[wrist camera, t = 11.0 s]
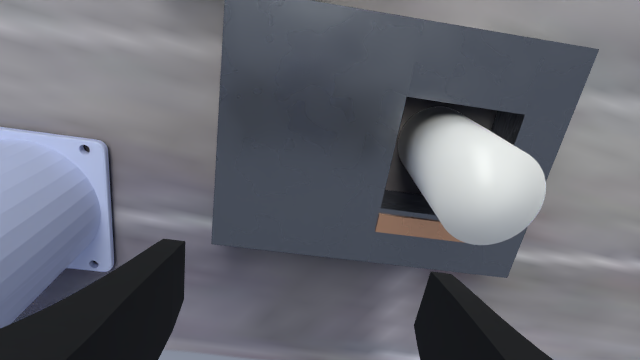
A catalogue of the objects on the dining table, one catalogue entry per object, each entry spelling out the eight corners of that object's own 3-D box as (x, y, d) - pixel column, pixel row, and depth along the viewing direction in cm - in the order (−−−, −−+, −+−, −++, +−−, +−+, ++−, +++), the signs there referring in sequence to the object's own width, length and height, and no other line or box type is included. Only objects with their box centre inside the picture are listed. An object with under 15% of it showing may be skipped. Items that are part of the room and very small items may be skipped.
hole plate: (221, 220, 22) (211, 245, 20) (236, -10, 18) (225, -15, 15) (487, 252, 23) (507, 278, 21) (563, 46, 19) (600, 49, 16)
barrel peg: (392, 175, 21) (428, 242, 15) (403, 103, 20) (448, 142, 13) (463, 180, 21) (528, 247, 15) (479, 108, 20) (560, 150, 14)
